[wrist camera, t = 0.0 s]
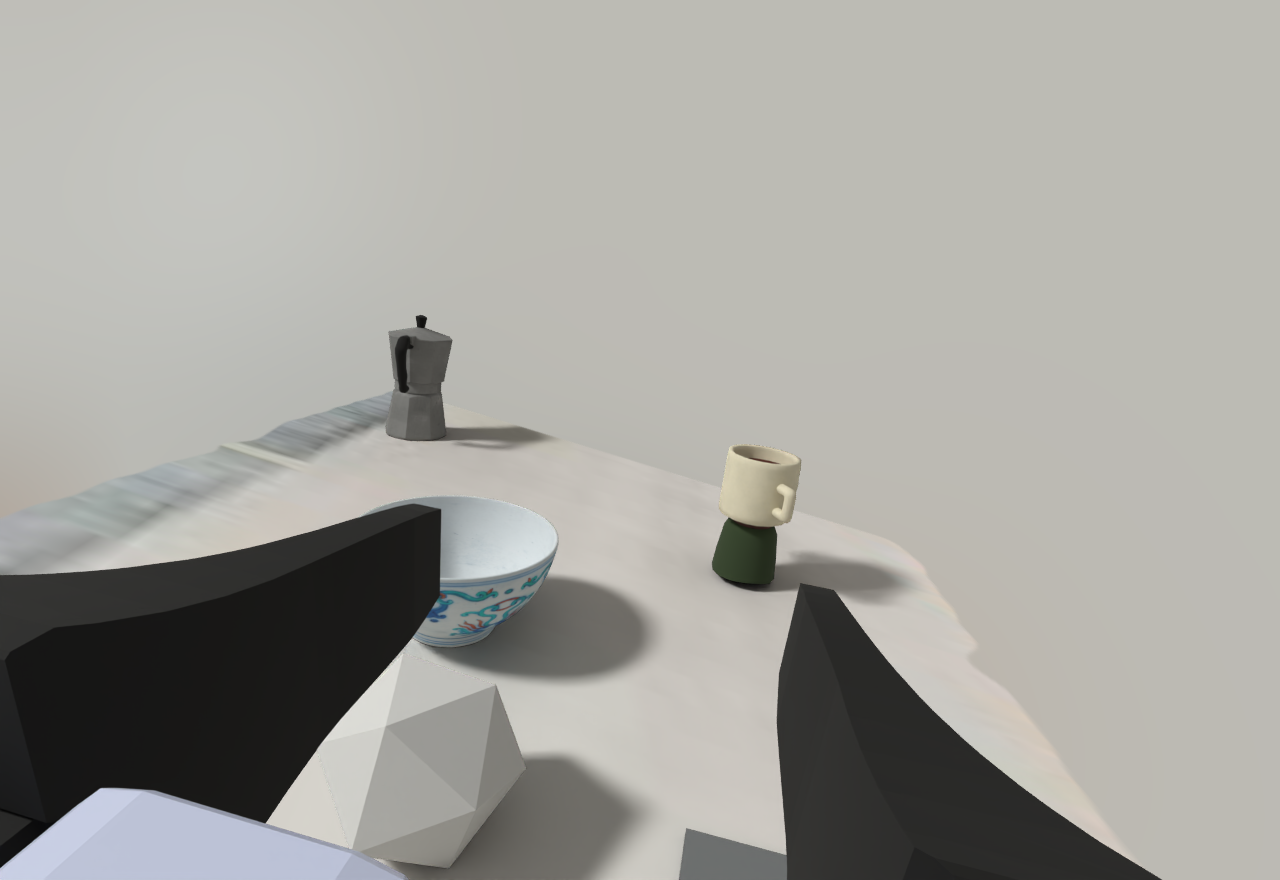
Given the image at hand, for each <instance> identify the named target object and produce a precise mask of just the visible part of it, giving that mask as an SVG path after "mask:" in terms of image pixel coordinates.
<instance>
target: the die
mask: <svg viewBox="0 0 1280 880" xmlns="http://www.w3.org/2000/svg"><path fill="white" fill-rule="evenodd" d="M317 753H318V756H319V759H320V762H321V765H322V768H323V771H324V775H325V778H326V781H327V784H328V787H329V790H330V793H331V796H332V799H333V802H334V805H335V808H336V811H337V814H338V818H339V821H340V824H341V827H342V830H343V833H344V836H345V839H346V842H347V845H348V848H349V849H352V850H355V851H359V852H361V853H363V854H365V855H367V856H369V857H371V858H377V859H385V860H392V861H399V862H406V863H413V864H420V865H427V866H434V867H441V868H448V869H449V868H450V867H451V865H452V864H453V863H454V861H455V860H456V859H457V857H458V856H459V855H460V854H461V852H462V851H463V850H464V848H465V847H466V846H467V844H468V843H469V842H470V841H471V839H472V838H473V837H474V835H475V834H476V833H477V831H478V830H479V829H480V828H481V826H482V825H483V824H484V822H485V821H486V820H487V818H488V817H489V816H490V815H491V813H492V812H493V811H494V809H495V808H496V807H497V805H498V804H499V803H500V802H501V800H502V799H503V798H504V796H505V795H506V794H507V792H508V791H509V790H510V789H511V787H512V786H513V785H514V783H515V782H516V781H517V779H518V778H519V777H520V776H521V774H522V773H523V772H524V770H525V769H526V766H525V763H524V760H523V758H522V755H521V752H520V749H519V747H518V744H517V741H516V738H515V736H514V733H513V730H512V727H511V725H510V722H509V719H508V716H507V714H506V711H505V708H504V705H503V703H502V700H501V697H500V694H499V692H498V689H497V686H496V685H495V684H492V683H489V682H486V681H483V680H480V679H478V678H475V677H472V676H469V675H466V674H463V673H460V672H457V671H454V670H452V669H449V668H446V667H443V666H440V665H437V664H434V663H431V662H428V661H425V660H423V659H420V658H417V657H414V656H411V655H408V654H405V653H403V654H402V655H401V656H400V657H399V658H398V659H397V660H396V661H395V662H394V663H393V664H392V665H391V666H390V667H389V668H388V669H387V670H386V671H385V673H384V674H383V675H382V676H381V677H380V678H379V679H378V680H377V681H376V682H375V683H374V684H373V685H372V686H371V687H370V688H369V689H368V690H367V691H366V692H365V693H364V694H363V695H362V696H361V697H360V698H359V699H358V701H357V702H356V703H355V704H354V705H353V706H352V707H351V708H350V710H349V711H348V712H347V713H346V714H345V715H344V716H343V718H342V719H341V720H340V721H339V722H338V723H337V725H336V726H335V727H334V728H333V730H332V731H331V732H330V733H329V734H328V736H327V737H326V738H325V739H324V741H323V742H322V743H321V745H320V746H319V747H318V749H317Z"/></svg>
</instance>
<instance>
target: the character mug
mask: <svg viewBox="0 0 1280 880" xmlns="http://www.w3.org/2000/svg"><path fill="white" fill-rule="evenodd" d="M800 470H801V459H800V458H798V457H797V456H795V455H793V454H791V453H788V452H785V451H782V450H778V449H774V448H770V447H764V446H758V445H747V444H744V445H743V444H742V445H734V446H731V447H730V448H729V452H728V456H727V462H726V468H725V473H724V479H723V484H722V489H721V495H720V501H719V509H720V511H721V512H722V513H723V514H724V515H726V516H728V517H729V518H728V519H727V521H726V522H725V523H724V526H723V529H722V532H721V535H720V538H719V541H718V544H717V547H716V550H715V554H714V557H713V561H712V567H713V570H714V571H715V572H716V573H717V574H718V575H719V576H721V577H723V578H726V579H729V580H731V581H737V582H742V583H748V584H751V583H754V584H770V583H771V581H772V580H773V579H774V572H775V563H776V546H777V533H776V530H775V527H774V526H779V525H782V524H784V523H788V522H790V520H791V518H792V514H793V510H794V505H795V500H796V490H797V487H798V481H799V475H800Z"/></svg>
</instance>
